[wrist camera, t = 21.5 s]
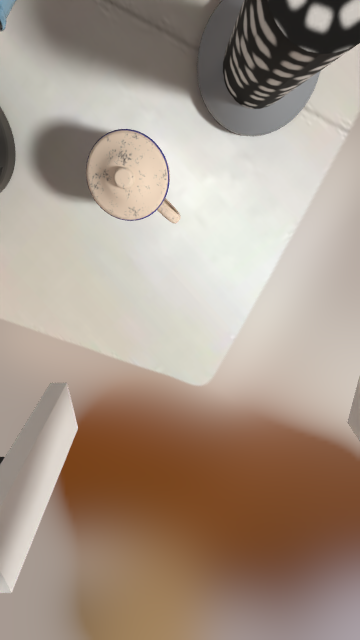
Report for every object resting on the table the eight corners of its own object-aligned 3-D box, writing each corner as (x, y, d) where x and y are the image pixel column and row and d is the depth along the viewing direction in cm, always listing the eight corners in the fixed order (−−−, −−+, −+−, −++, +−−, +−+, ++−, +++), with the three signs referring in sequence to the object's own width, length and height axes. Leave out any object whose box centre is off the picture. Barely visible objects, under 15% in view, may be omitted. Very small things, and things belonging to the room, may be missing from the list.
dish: (197, 138, 40) (198, 137, 39) (196, -11, 34) (196, -18, 32) (308, 134, 40) (312, 133, 38) (327, -17, 33) (333, -25, 32)
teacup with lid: (90, 178, 42) (59, 181, 32) (132, 119, 39) (113, 101, 29) (158, 239, 45) (150, 260, 35) (201, 189, 42) (207, 196, 32)
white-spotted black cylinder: (236, 5, 33) (300, -187, 15) (309, 30, 34) (451, -123, 16) (213, 97, 37) (243, 29, 19) (279, 118, 38) (369, 72, 20)
